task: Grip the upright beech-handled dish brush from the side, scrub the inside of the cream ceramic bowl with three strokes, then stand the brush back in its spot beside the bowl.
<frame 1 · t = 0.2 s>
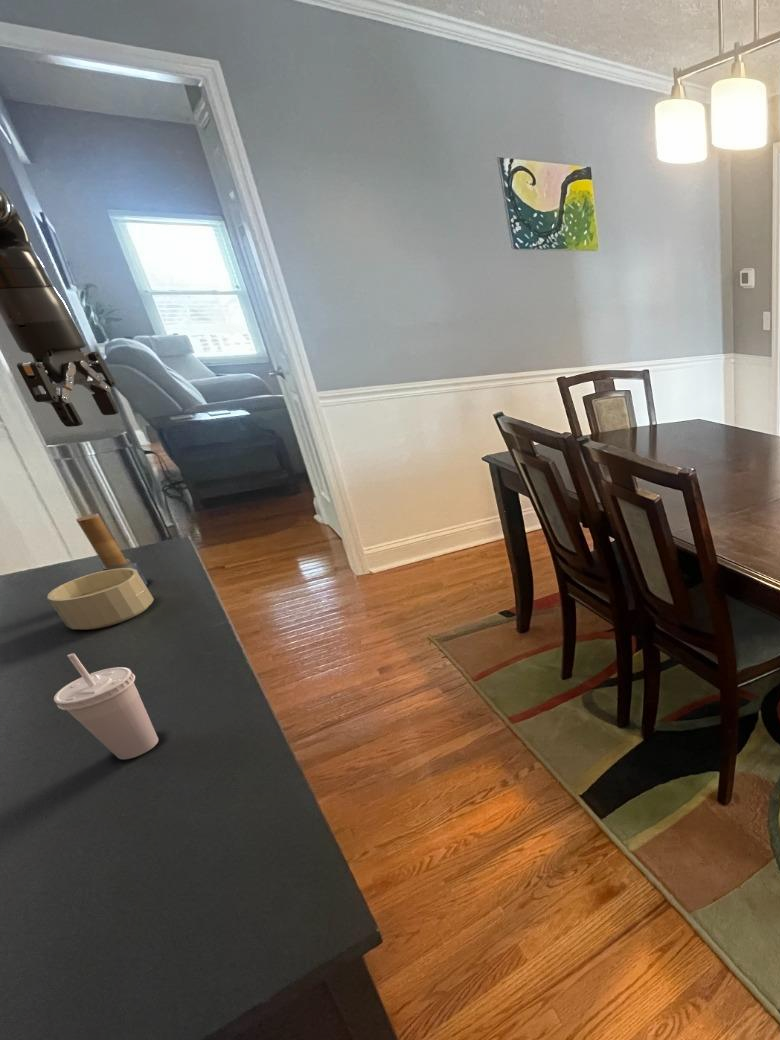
hand: (93, 420, 102), 28 cm above the table, tool pointing down, fingers open, 8 cm apart
smoothie: (139, 748, 71), on the table
brush: (130, 587, 108), on the table
bowl: (113, 614, 100), on the table
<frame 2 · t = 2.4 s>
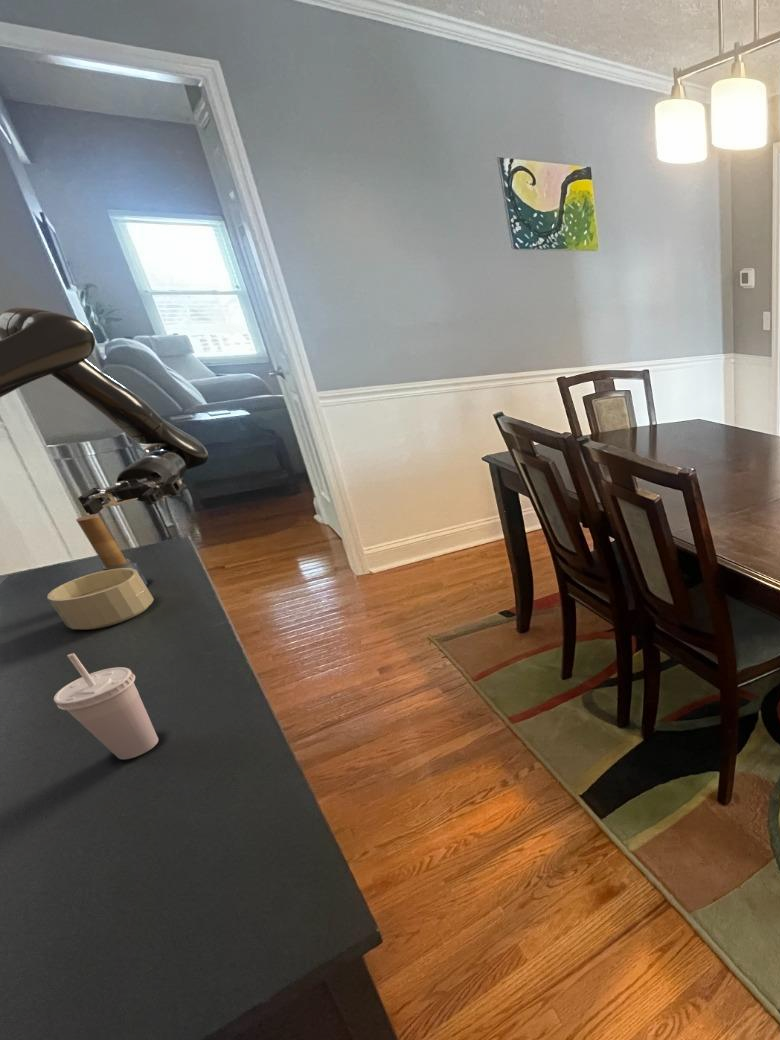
hand: (118, 504, 111), 12 cm above the table, tool horizontal, fingers open, 8 cm apart
nothing on the table moved.
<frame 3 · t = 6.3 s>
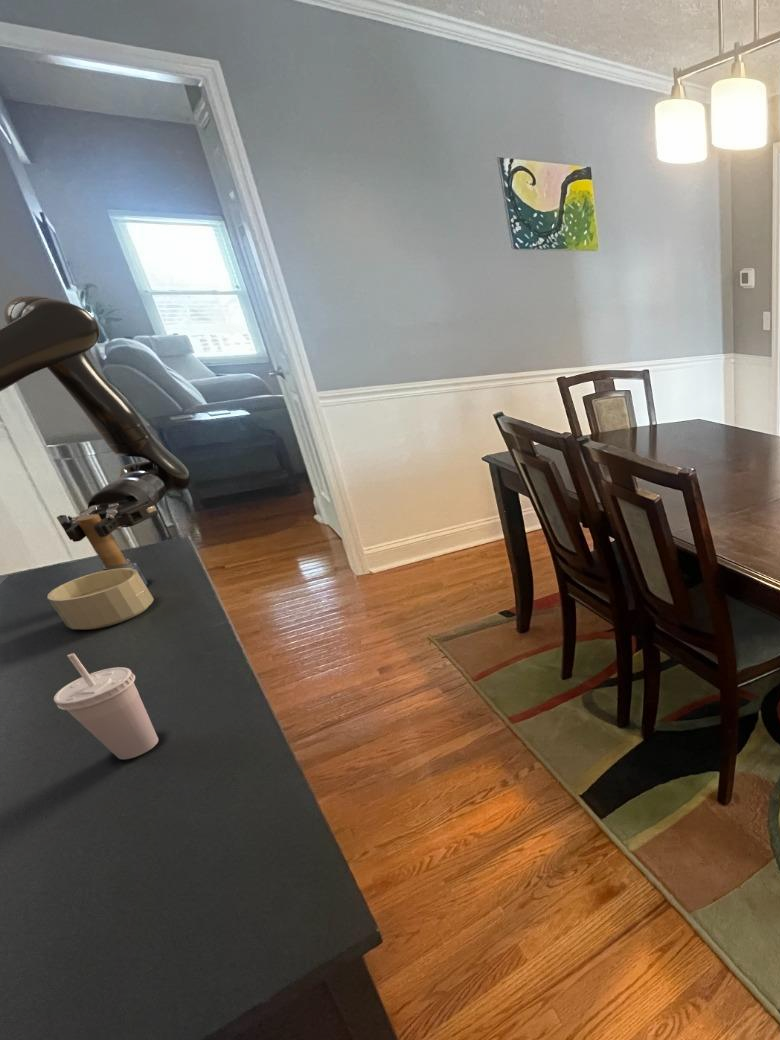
hand: (86, 533, 100), 12 cm above the table, tool horizontal, fingers closed on brush, 3 cm apart
brush: (130, 587, 108), on the table, touching gripper
everything else where it was.
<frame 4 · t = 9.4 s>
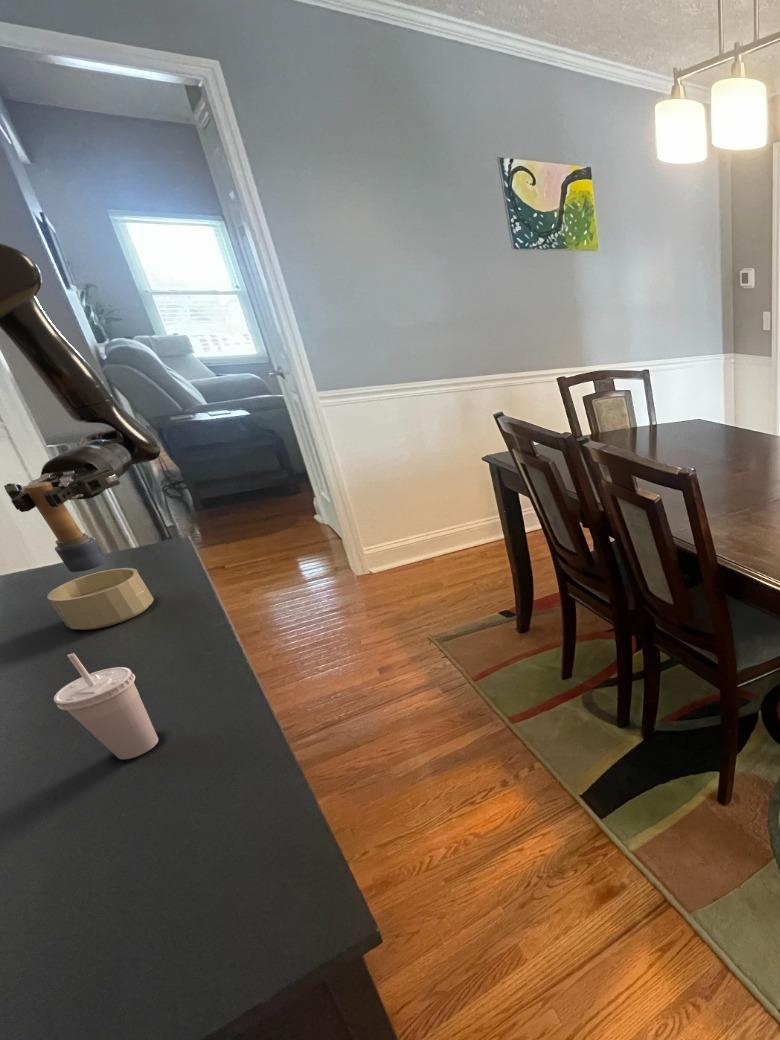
hand: (35, 503, 89), 21 cm above the table, tool horizontal, fingers closed on brush, 3 cm apart
brush: (88, 565, 97), point 9 cm above the table, touching gripper
everything else where it was.
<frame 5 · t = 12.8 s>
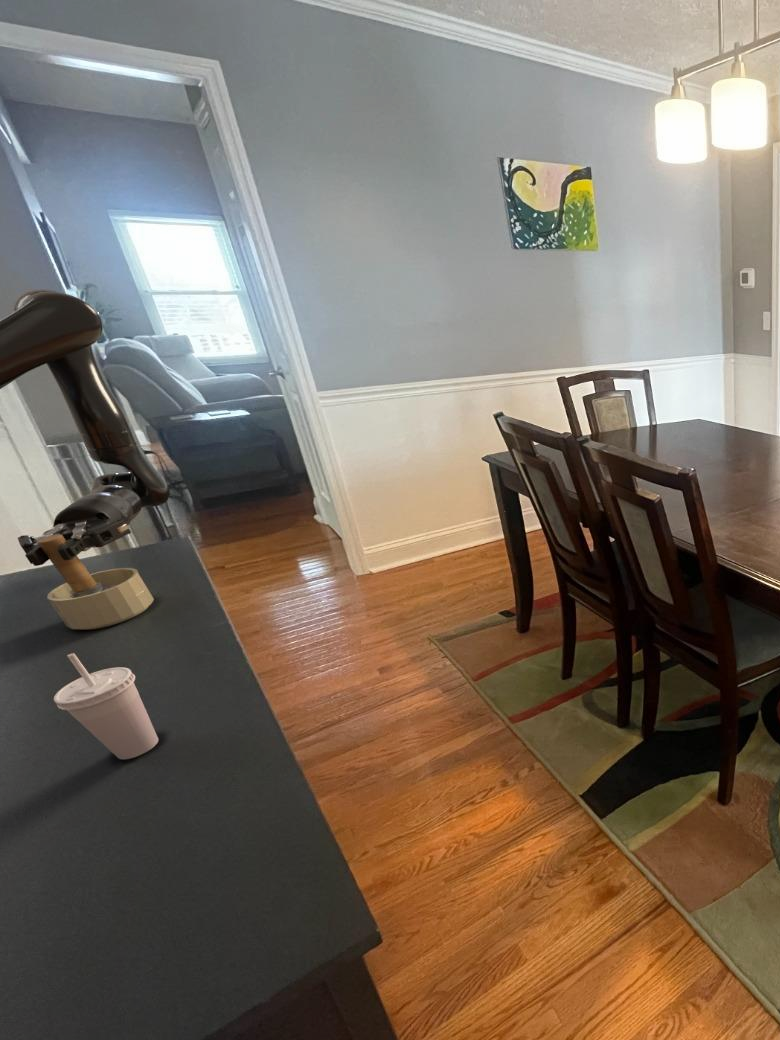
hand: (49, 557, 91), 13 cm above the table, tool horizontal, fingers closed on brush, 3 cm apart
brush: (103, 612, 99), point 1 cm above the table, touching bowl, gripper
everything else where it was.
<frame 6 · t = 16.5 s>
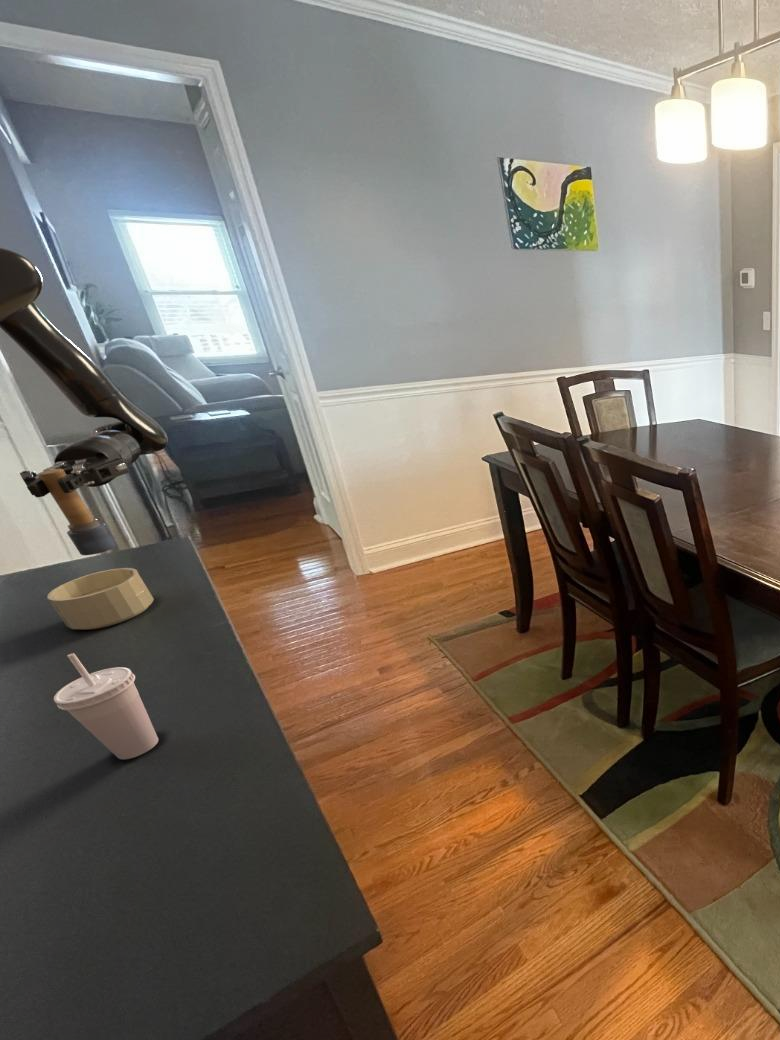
hand: (49, 489, 94), 21 cm above the table, tool horizontal, fingers closed on brush, 3 cm apart
brush: (99, 549, 102), point 9 cm above the table, touching gripper
everything else where it was.
when the fingers open (12 cm above the table, at t = 19.5 s): brush stays where it is, on the table.
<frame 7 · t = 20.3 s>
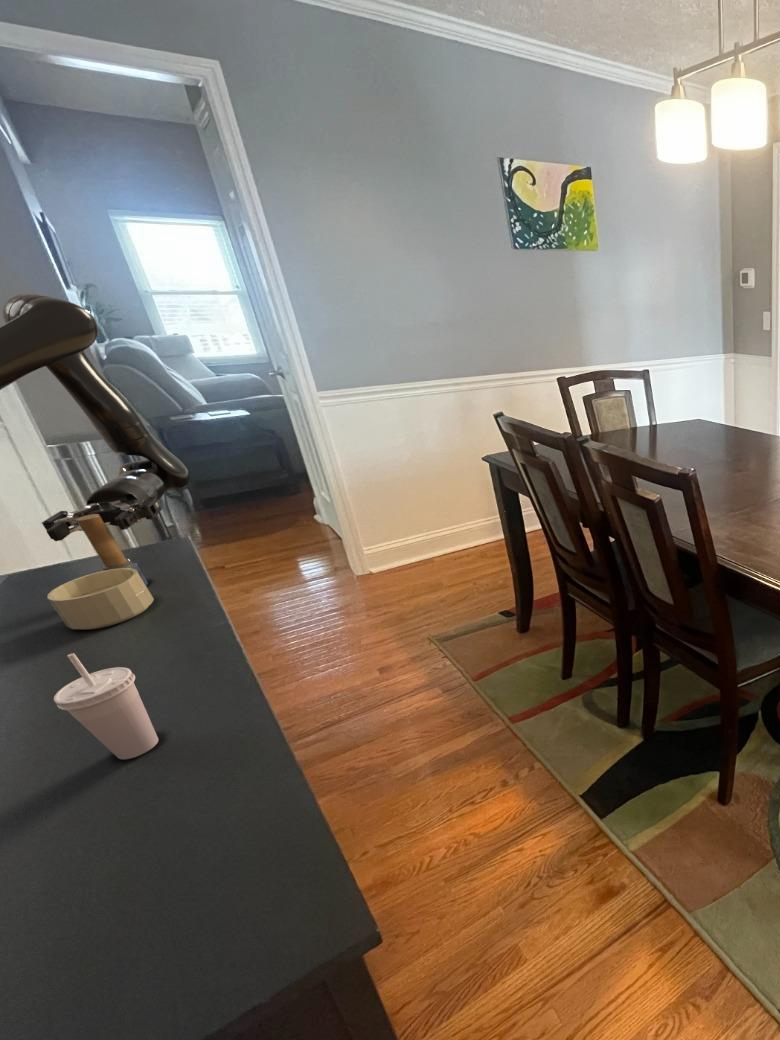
hand: (87, 530, 101), 12 cm above the table, tool horizontal, fingers open, 8 cm apart
brush: (131, 587, 108), on the table
everything else where it was.
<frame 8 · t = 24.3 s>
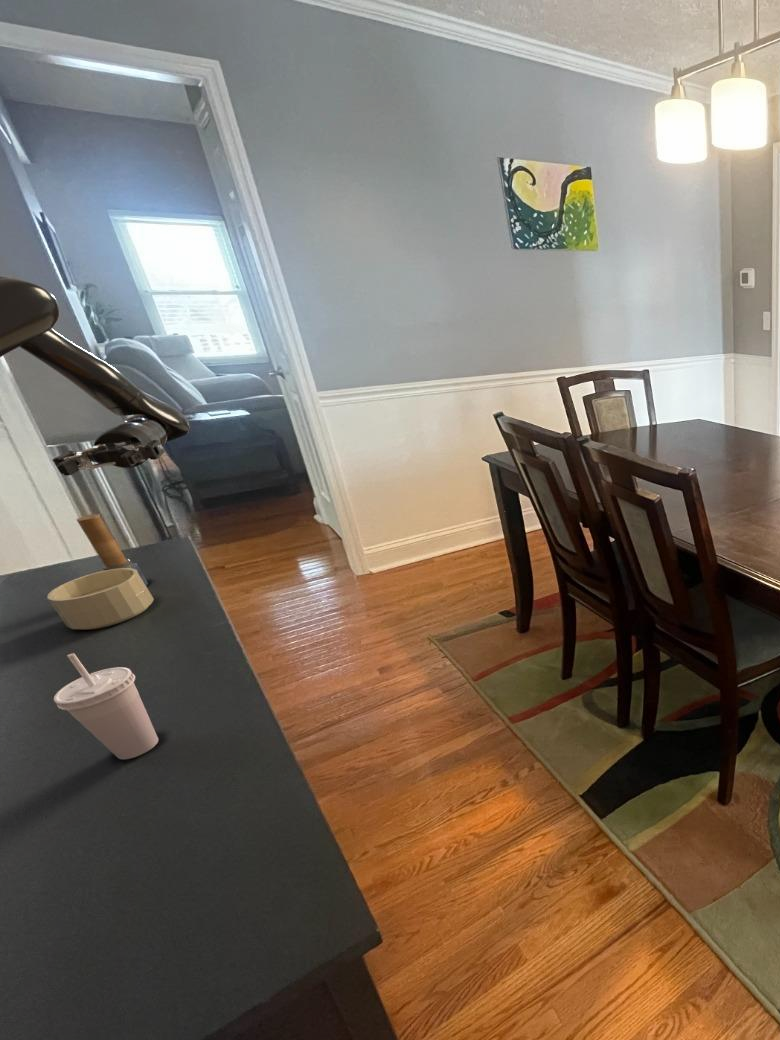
hand: (95, 465, 107), 20 cm above the table, tool horizontal, fingers open, 8 cm apart
nothing on the table moved.
at the end: brush 0.0 cm from the target spot, on the table; brush tilted 0°; the gripper is holding nothing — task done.
